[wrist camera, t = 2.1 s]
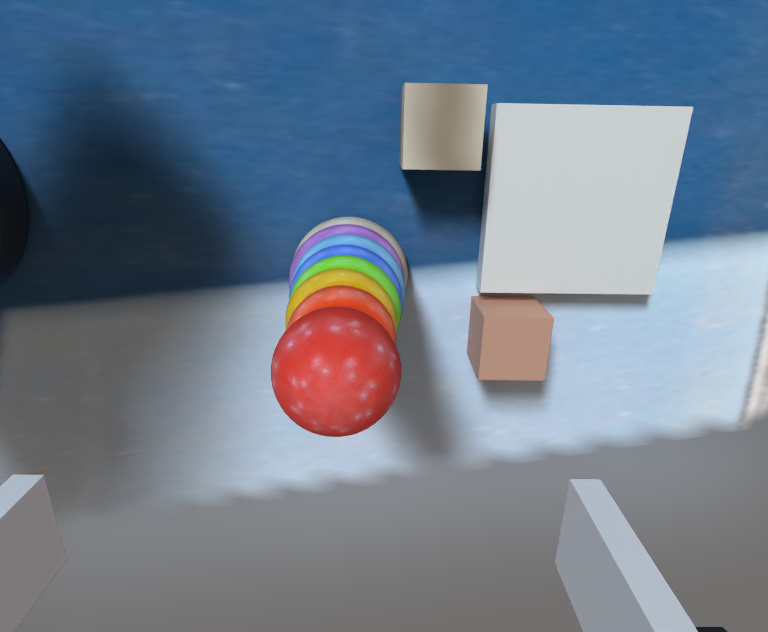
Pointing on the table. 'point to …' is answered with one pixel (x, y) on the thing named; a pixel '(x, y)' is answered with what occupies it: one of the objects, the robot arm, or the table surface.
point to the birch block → (442, 126)
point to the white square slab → (578, 197)
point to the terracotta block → (509, 338)
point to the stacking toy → (341, 328)
